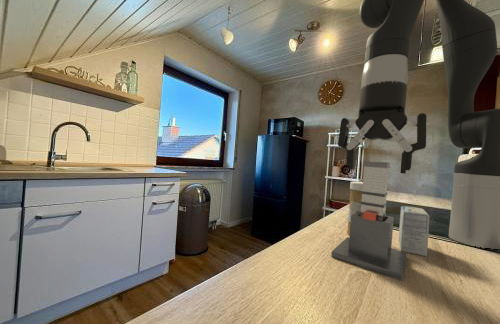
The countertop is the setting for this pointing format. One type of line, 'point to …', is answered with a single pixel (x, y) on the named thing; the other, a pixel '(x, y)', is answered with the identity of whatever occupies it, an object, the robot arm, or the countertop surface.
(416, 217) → the medicine box
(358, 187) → the sprinkles bottle
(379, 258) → the stand base
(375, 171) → the column
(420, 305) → the countertop surface
